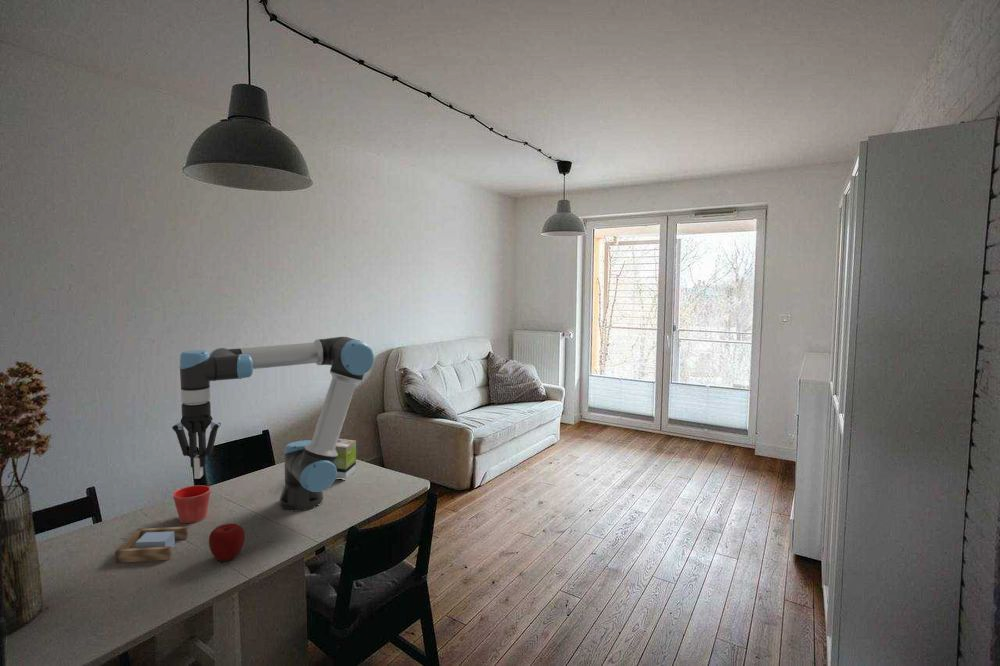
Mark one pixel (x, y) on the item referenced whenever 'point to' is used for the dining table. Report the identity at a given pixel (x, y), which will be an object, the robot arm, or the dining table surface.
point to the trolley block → (156, 540)
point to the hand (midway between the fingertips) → (198, 476)
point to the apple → (226, 541)
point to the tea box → (345, 457)
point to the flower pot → (192, 503)
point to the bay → (133, 554)
